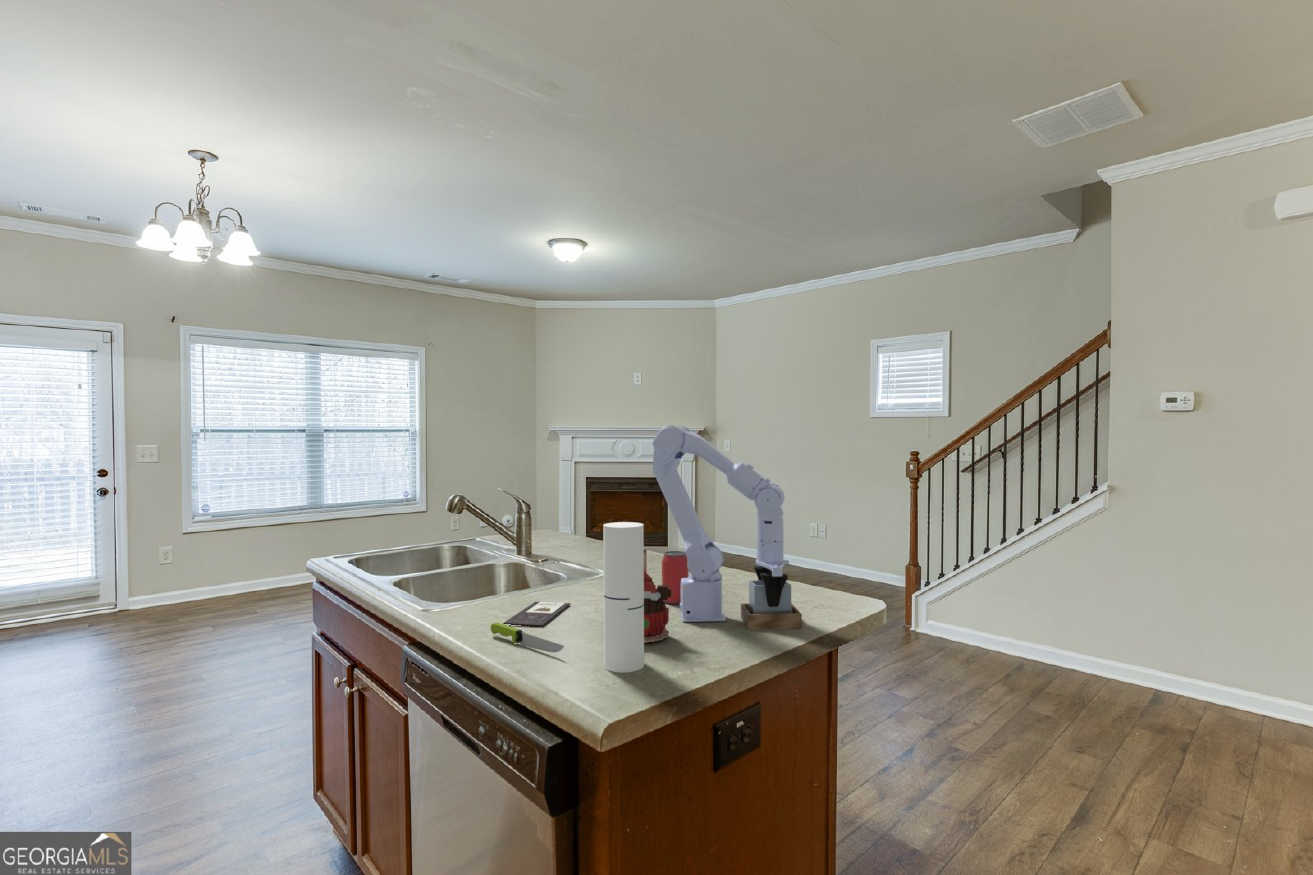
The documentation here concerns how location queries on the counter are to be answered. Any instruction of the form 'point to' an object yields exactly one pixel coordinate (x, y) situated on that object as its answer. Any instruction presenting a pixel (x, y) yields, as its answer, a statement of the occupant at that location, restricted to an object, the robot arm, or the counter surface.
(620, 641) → the cylindrical container
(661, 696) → the counter surface
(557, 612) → the chocolate bar
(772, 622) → the walnut crate
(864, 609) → the counter surface
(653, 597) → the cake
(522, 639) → the kitchen knife
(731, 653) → the counter surface
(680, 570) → the beer can
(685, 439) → the robot arm
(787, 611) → the grey crate
